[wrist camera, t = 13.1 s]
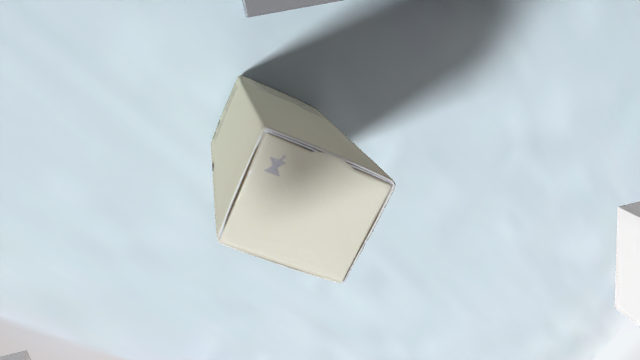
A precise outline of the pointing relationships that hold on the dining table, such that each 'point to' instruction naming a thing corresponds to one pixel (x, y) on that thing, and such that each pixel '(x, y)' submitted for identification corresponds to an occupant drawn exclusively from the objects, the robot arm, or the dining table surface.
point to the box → (292, 184)
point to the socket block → (277, 5)
